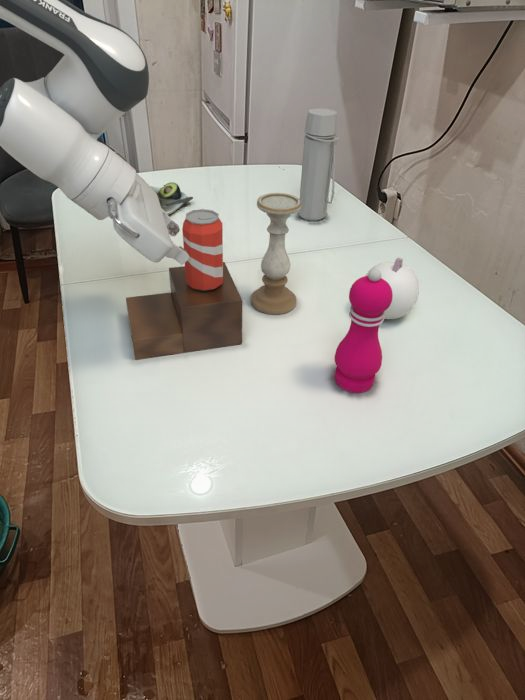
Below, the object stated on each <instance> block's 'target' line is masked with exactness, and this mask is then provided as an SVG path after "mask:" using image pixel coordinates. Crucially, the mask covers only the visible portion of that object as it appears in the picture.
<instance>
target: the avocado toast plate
mask: <svg viewBox="0 0 525 700" xmlns="http://www.w3.org/2000/svg"><path fill="white" fill-rule="evenodd" d="M150 186H151V188H152V189H153V190H154V191H155V192H156V194H157V196H158V199H159V202H160V206H161V208H162V209H163V210H164V211H165V212H166V213H167V215H168V216H169V215H171V214H173V213H174V212H176V211H177V210H179V209H180V208H182V207H183V206H184V205H185V204H187V203H188V202H190V201H192V200H193V199H194V197H193V196H188V195H187V194H186V193H185V192H183V191H181V188H180V185H179V184H178V183H176V182H174V181H173V182H167V183H166V184H163V186H161V187H158V186H153V185H150Z"/></svg>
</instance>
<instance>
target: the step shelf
mask: <svg viewBox="0 0 525 700" xmlns="http://www.w3.org/2000/svg"><path fill="white" fill-rule="evenodd" d="M168 273H169V274H168V275H169V288H170V291H169V292H162V293H154V294H153V293H152V294H146V295H145V294H143V295H135V296H128V297H125V302H126V308H127V309H126V310H127V315H128V323H129V329H130V336H131V341H132V342H131V343H132V349H133V355H134V360H136V361H138V360H145V359H150V358H157V357H164V356H171V355H177V354H178V355H179V354H185V353H192V352H197V351H204V350H205V351H206V350H212V349H217V348H225V347H226V348H227V347H232V346H233V347H234V346H239V345H242V344H243V305H244V303H243V298H242V296H241V294H240V292H239V290H238V288H237V286H236V283H235V281H234V279H233V277H232V275H231V273H230V270H229V269H228V267H227V264H226V262H225V261H223V284H221V285H220V286H218V287H217V288H215V289H213V290H208V291H201V290H196V289H194V288H192V287H190V286H189V285H188V284H187V283H186V276H185V265H184V266H174V267H168Z"/></svg>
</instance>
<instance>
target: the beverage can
mask: <svg viewBox="0 0 525 700" xmlns="http://www.w3.org/2000/svg"><path fill="white" fill-rule="evenodd" d="M181 229H182V230H181V231H182V243H183V245H182V246H183V249H184V250H186V251H187V252H188V255H189V259H188V260H187V261H186V262H185V263H184V266H185V276H186V283H187V284H188V285H189V286H190V287H192V288H194V289H196V290H201V291H208V290H213V289H215V288H217V287H218V286H220V285H221V284H223V262H224V250H223V249H224V246H223V245H224V243H223V222H222V220H221V219H220V214H219V213H218V212H216V211H215V210H213V209H205V208H201V209H200V208H199V209H192V210H190V211H189V212H187V213H185V219H184V221H183V223H182V228H181Z"/></svg>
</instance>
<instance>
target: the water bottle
mask: <svg viewBox="0 0 525 700" xmlns="http://www.w3.org/2000/svg"><path fill="white" fill-rule="evenodd" d="M337 123H338V112H337V111H336V110H333V109H330V108H323V107H321V108H320V107H315V108H310V109H309V110H307V115H306V121H305V127H304V134H305V135H304V141H303V152H302V161H301V162H302V164H301V173H300V174H301V176H300V187H299V197H298V198H299V199H300V201H301V203H302V207H301V209H300V211H298V212H297V213H298V215H299V217H300V218H302V219H303V220H305V221H309V222H318V221H321V220H323V219H324V218H325V217H326V216H327V212H328V205H330V204H333V200H334V197H335V180H336V146H337V143H338V140H339V139H340V136H339V134H338V133H337V129H338V128H337V127H338V124H337ZM331 178H332V179H331ZM331 180H332V181H331ZM330 187H331V197H330V201H329V194H330Z"/></svg>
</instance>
